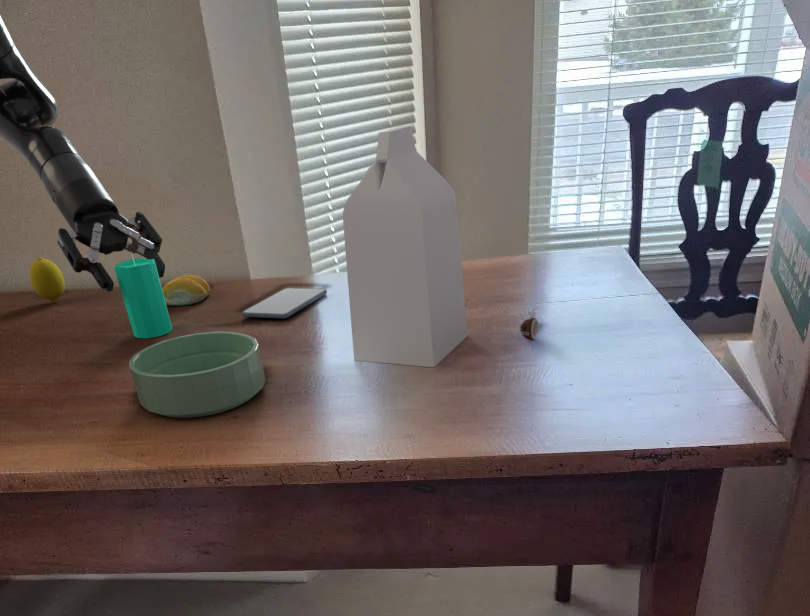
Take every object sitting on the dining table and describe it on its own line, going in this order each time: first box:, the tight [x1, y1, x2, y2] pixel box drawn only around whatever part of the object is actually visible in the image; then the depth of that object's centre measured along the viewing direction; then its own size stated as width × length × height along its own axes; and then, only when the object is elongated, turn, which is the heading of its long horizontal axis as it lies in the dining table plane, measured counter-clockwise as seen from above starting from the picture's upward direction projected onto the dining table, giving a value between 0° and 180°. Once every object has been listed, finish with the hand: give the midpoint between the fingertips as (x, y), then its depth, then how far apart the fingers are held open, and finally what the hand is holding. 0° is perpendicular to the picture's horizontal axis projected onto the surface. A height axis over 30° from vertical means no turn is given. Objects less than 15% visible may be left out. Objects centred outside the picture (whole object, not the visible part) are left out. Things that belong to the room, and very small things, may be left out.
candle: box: [113, 252, 173, 339], centre depth 111 cm, size 6×6×12 cm
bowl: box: [128, 331, 266, 419], centre depth 89 cm, size 15×15×6 cm
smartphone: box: [241, 287, 328, 319], centre depth 120 cm, size 8×1×15 cm
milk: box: [342, 125, 469, 368], centre depth 92 cm, size 12×12×26 cm
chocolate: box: [520, 308, 540, 341], centre depth 97 cm, size 3×2×4 cm
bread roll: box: [162, 274, 211, 307], centre depth 128 cm, size 8×9×4 cm
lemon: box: [28, 256, 66, 303], centre depth 133 cm, size 6×6×8 cm
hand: (137, 280), depth 111 cm, fingers open, 8 cm apart
